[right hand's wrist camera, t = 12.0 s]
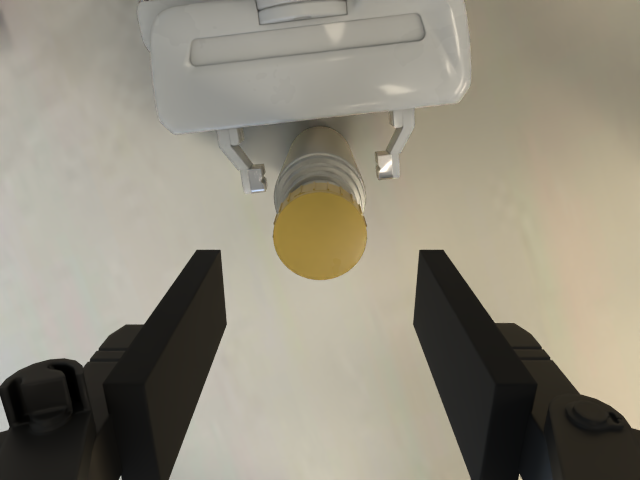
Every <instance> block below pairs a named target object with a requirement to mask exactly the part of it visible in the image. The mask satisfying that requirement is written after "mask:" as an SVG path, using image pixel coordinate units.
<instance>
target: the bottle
mask: <svg viewBox="0 0 640 480" xmlns="http://www.w3.org/2000/svg"><path fill="white" fill-rule="evenodd" d="M313 182H315V183H327V182H329V184H333V185H336V186H338V187H340V186H341V187H342V189H344V190H345V191H347V192H348V193H349V194H352V195H353V198H354V199H355V200H356V202H357V203H358V204H360V206H361V210H362V213H364V209H365V203H366V191H365V186H364V182H363V180H362V177H361V175H360V172H359V170H358V167H357V165H356V162H355V160H354V157H353V155H352V153H351V150H350V148H349V145H348V143H347V141H346V140H345V138H344V137H343V136H342V135H341V134H340V133H338V132H337V131H335V130H333V129H331V128H328V127H322V126H318V127H312V128H309V129H307V130H305V131H303V132H302V133H300V134H299V135H298V136H297V137H296V138H295V140H294V141H293V143H292V145H291V148H290V150H289V153H288V155H287V157H286V160H285V162H284V165H283V167H282V170H281V172H280V175H279V177H278V180H277V182H276V186H275V190H274V203H275V208H276V213H277V214H278V211H279V208H280V205H281V202H282V203H283V202H284V200H285V199H286V198H287V197H288V195H289V193H290V192H291V193H292V192H293V191H295V190H296V189H298V188H300V186H301V185H302V186H304V185H307V184H311V183H313ZM362 216H363V214H362Z"/></svg>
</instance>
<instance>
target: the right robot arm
mask: <svg viewBox="0 0 640 480" xmlns="http://www.w3.org/2000/svg"><path fill="white" fill-rule="evenodd" d="M226 325H227V321H226V309H225V297H224V285H223V274H222V262H221V250H196V252H195V253H194V255H193V256H192V257H191V259H190V260H189V262H188V263H187V265H186V266H185V267H184V269H183V270H182V272H181V273H180V274H179V276H178V277H177V279H176V280H175V282H174V283H173V284H172V286H171V287H170V289H169V290H168V291H167V293H166V294H165V296H164V297H163V299H162V300H161V301H160V303H159V304H158V306H157V307H156V308H155V310H154V311H153V313H152V314H151V316H150V317H149V318H148V320H147V321H146V323H145V324H144V325H125V326H123V327H122V328H120V329H118V330H117V331H115V332H114V333H112V334H111V335H109V336H108V338H107V339H106V340H105V341H104V343H103V344H102V345H101V346H100V347H99V351H96V352H95V354H94V355H93V356H92V357H91V359H90V362H87V364H86V365H85V366H84V367H83V366H82V365H81V364H79V363H78V362H77V361H75V360H70V359H65V358H64V359H50V360H46V361H42V362H39V363H35V364H32V365H30V366H28V367H25V368H23V369H21V370H19V371H17V372H16V373H14V374H13V375H11V376H10V377H8V378H7V379H6V380H5V381H4V382H3V383H2V385H1V386H0V397H1V400H2V403H3V407H4V410H5V413H6V416H7V420H8V423H9V426H10V427H9V430H7V431H3V432H0V480H119V478H120V476H121V477H122V480H169V477H170V475H171V472H172V469H173V467H174V464H175V461H176V459H177V456H178V453H179V451H180V448H181V445H182V443H183V440H184V437H185V435H186V432H187V429H188V427H189V424H190V421H191V419H192V416H193V413H194V411H195V408H196V405H197V403H198V400H199V397H200V395H201V392H202V389H203V386H204V384H205V381H206V378H207V376H208V373H209V370H210V368H211V365H212V362H213V360H214V357H215V354H216V352H217V349H218V346H219V344H220V341H221V338H222V336H223V333H224V330H225V328H226ZM413 325H414V328H415V330H416V333H417V336H418V338H419V341H420V344H421V346H422V349H423V352H424V354H425V357H426V360H427V362H428V365H429V368H430V370H431V373H432V376H433V378H434V381H435V384H436V386H437V389H438V392H439V395H440V397H441V400H442V403H443V405H444V408H445V411H446V413H447V416H448V419H449V421H450V424H451V427H452V429H453V432H454V435H455V437H456V440H457V443H458V445H459V448H460V451H461V453H462V456H463V459H464V461H465V464H466V467H467V469H468V472H469V475H470V477H471V480H518V477H519V473H520V475H521V477H522V479H523V480H640V430H636V429H633V428H631V427H630V425H629V424H628V422H627V421H626V419H625V418H624V417H623V416H622V415H621V414H620V413H619V412H617V411H616V410H615V409H614V408H612V407H611V406H609V405H607V404H605V403H603V402H601V401H599V400H597V399H594V398H591V397H588V396H584V395H580V393H579V392H578V391H577V390H576V389H575V387H574V386H573V385H572V384H571V382H570V381H569V380H568V379H567V378H566V376H565V375H564V374H563V373H562V371H561V370H560V369H559V368H558V366H557V365H556V364H555V363H554V362H553V360H550V357H549V355H548V354H547V353H546V352H545V351H544V349H542V347H541V346H540V344H539V343H538V342H537V341H536V339H535V338H534V337H533V336H532V335H531V334H530V333H529V332H527V331H526V330H524V329H522V328H521V327H519V326H518V325H516V324H515V323H494V321H493V320H492V318H491V317H490V316H489V314H488V313H487V311H486V310H485V308H484V307H483V306H482V304H481V303H480V301H479V300H478V299H477V297H476V296H475V294H474V293H473V291H472V290H471V289H470V287H469V286H468V284H467V283H466V282H465V280H464V279H463V277H462V276H461V274H460V273H459V272H458V270H457V269H456V267H455V266H454V265H453V263H452V262H451V260H450V259H449V257H448V256H447V255H446V253H445V252H444V250H419V262H418V274H417V285H416V297H415V309H414V321H413Z"/></svg>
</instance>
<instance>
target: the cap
mask: <svg viewBox="0 0 640 480" xmlns="http://www.w3.org/2000/svg"><path fill="white" fill-rule="evenodd" d="M362 214H363V213H362V210H361V206H360V204H358V203H357V202H356V200H355V199H354V198H353V195H352V194H349V193H348V192H347V191H345V190H344V189H342V187H341V186H340V187H338V186H336V185H333V184H329V182H327V183H315V182H313V183H311V184H307V185H304V186H302V185H301V186H300V188H298V189H296V190H295V191H293V192H292V193H291V192H290V193H289V195H288V197H287V198H286V199H285V200H284V202H283V203H282V202H281V205H280V208H279V211H278V214H276V217H275V221H274V231H273V241H274V246H275V250H276V252H277V254H278V256H279V258H280V260H281V261H282V262H283V264H284V265H285V266H286V267H287V268H289V269H290V270H291V271H292V272H294V273H296V274H297V275H300V276H302V277H305V278H308V279H313V280H327V279H332V278H335V277H338V276H340V275H343V274H344V273H346V272H348V271H349V270H350V269H351V268H353V267H354V266H355V265H356V263H357V262H358V261H359V260H360V258H361V256H362V254H363V252H364V250H365V246H366V240H367V231H366V227H367V225H366V221H365V218H364V216H362Z"/></svg>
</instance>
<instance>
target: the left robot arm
mask: <svg viewBox="0 0 640 480" xmlns="http://www.w3.org/2000/svg"><path fill="white" fill-rule="evenodd" d="M137 17H138V22H139V26H140V31H141V35H142V39H143V42H144V44H145V46H146V48H147V50H148V51H149V52H150V60H151V73H152V84H153V91H154V99H155V104H156V110H157V115H158V119H159V121H160V122H161V123H162V124H163V125H164V126H165V127H166V128H167V129H168V130H169V131H170V132H171V133H173V134H187V133H196V132H205V131H214V130H216V131H217V137H218V142H219V148H220V149H221V150H222V151H223V152H224V154H225V155H226V156H227V157H228V158H229V160H230V161H231V162H232V163H233V165H234V166H235V167H236V168H237V169H238V170H240V172H241V178H242V184H243V190H244V193H245V194H252V193H260V192H266V189H267V180H266V178H265V177H264V174H265V167H264V164H255V165H253V163H252V162H251V161H250V159H249V158H248V157H247V155H246V154H245V153H244V151H243V150H242V149H241V147H240V146H239V144H240V143H241V142H242V141H243V140H244V134H243V127H250V126H259V125H268V124H277V123H286V122H295V121H304V120H313V119H322V118H332V117H341V116H350V115H359V114H368V113H377V112H386V111H389V123H390V124H391V125H392V126H394V127H395V128H396V130H395V132H394V134H393V136H392V138H391V140H390V142H389V144H388V147H387V149H386V150H385V151H378V152H375V161H376V163H377V166H376V174H377V178H378V180H385V179H395V178H399V177H400V162H399V153H401V152H402V150H403V148H404V146H405V144H406V142H407V141H408V139H409V137H410V135H411V133H412V131H413V129H414V127H415V115H414V108H422V107H431V106H440V105H449V104H456V103H459V102H460V101H461V99H462V98H463V97H464V95H465V94H466V92H467V91H468V89H469V88H470V85H471V47H470V35H469V26H468V18H467V11H466V6H465V1H464V0H151V1H148V0H140V1H139V4H138V6H137Z"/></svg>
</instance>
